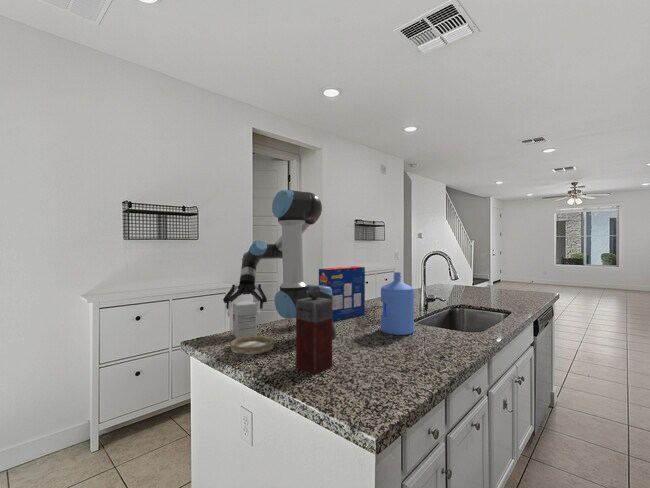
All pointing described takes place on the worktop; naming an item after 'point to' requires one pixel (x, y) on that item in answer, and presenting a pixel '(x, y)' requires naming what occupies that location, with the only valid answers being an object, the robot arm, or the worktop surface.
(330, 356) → the red square bottle
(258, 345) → the tan plate
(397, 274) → the water jug
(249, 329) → the supplement box
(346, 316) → the blue toy box
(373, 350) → the worktop surface
